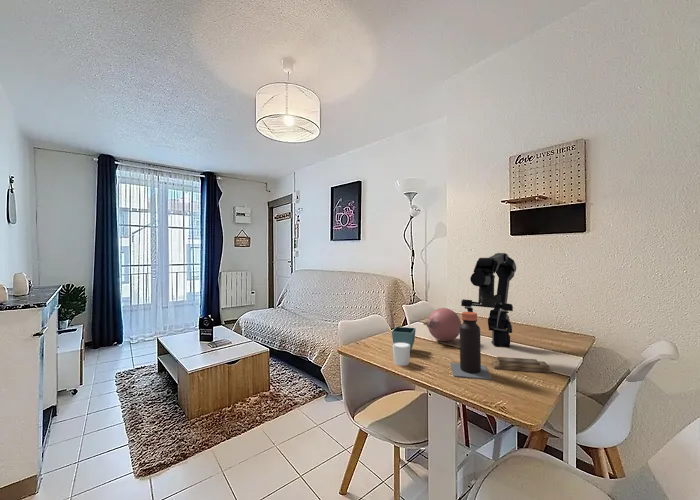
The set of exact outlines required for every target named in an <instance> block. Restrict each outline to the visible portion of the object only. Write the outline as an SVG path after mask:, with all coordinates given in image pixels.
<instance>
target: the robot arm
mask: <svg viewBox="0 0 700 500" xmlns="http://www.w3.org/2000/svg"><path fill="white" fill-rule="evenodd" d="M516 272H517V265H516V262H515V260H514V259H513V258H511V257H510V256H509V255H508V253H505V252H497V253H494V254H493V255H491V256H489V257H479V258H478V260H477V261H476V263H475V266H474V269H473V273H472V274H471V276H470V279H469V280H470V282H471V284H472V285H473V286H475V287H478V301H473V300H471V299H461V302H460V303H461V304H460V306H461V307H463V308H464V309H465V310H467V312H474V311H473V310H474V308H473V307H479V308H480V307H481V308H489V309H490V308H491V309H490V310H489V316H488V317H487V326H488V331H491V344H492V345H493V346H494V347H504V348H505V347H506V348H510V347H511V335H510V334H512V333H513V326H512V323H511V320H510V316H509V313H510V312H513V310H514V306H513V304H512V303H508V298H509V297H508V296H509V289H510V288H509V287H510V283H511V282H510V281H511V280H512V279H513V278H514V277H515V273H516ZM495 274H496V276H497V277H498V281H497V282H498V283H497V290H496V294H495V278H496V276H495Z"/></svg>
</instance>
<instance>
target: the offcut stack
mask: <svg viewBox="0 0 700 500" xmlns="http://www.w3.org/2000/svg"><path fill="white" fill-rule="evenodd" d="M491 365H492V367H493V368H494V370H506V371H507V370H509V371H510V370H511V371H522V372H523V371H524V372H532V373H533V372H534V373H535V372H536V373H547V374H548V373H549V374H552V369H551V368H550V365H549V364H548V363H547V362H546V361H541V360H540V361H539V360H537V359H536V358H534V359H533V358H521V357H509V356H508V357H506V356H496V360H491Z"/></svg>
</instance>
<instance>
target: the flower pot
mask: <svg viewBox="0 0 700 500" xmlns="http://www.w3.org/2000/svg"><path fill="white" fill-rule="evenodd" d="M391 338H392V344H393V343H397V342H404V343H408V344H410V351H411V350H412V348H413V346H414V343H415V340H416V339H415V338H416V327H405V326H395V327H394V328H393V329H392V330H391Z"/></svg>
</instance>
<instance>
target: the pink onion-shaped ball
mask: <svg viewBox="0 0 700 500" xmlns="http://www.w3.org/2000/svg"><path fill="white" fill-rule="evenodd" d="M422 324H423V325H424V326H426V328H427V329H428V332H429V333H430V334H431V336H432V337H433V338H435V339H436V340H438V341H440V342H450V341H453V340H455V339H457V337H459V336H460V325H461V324H462V321H461V318H460V317H459V315H458V314H457V313H456V312H455V311H454V310H452V309H450V308H446V307H441V308H437V309H435V310H433V311H432V312H431V313H430V314H429V315H428V317H427V321H425V322H423V323H422Z"/></svg>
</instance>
